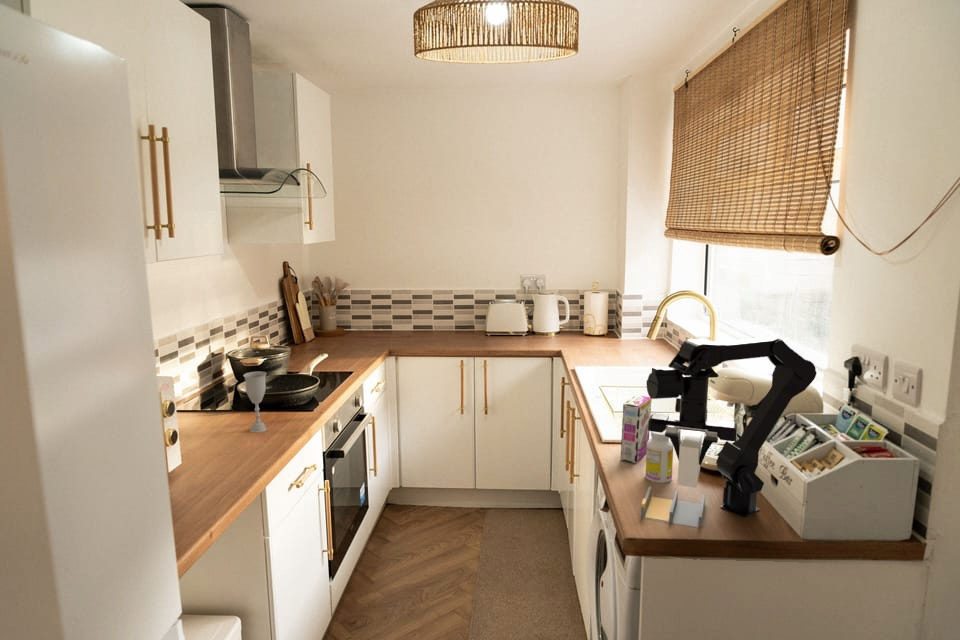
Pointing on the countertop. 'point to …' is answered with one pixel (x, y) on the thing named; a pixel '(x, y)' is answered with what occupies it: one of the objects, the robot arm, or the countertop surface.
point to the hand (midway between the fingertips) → (690, 462)
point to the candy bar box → (635, 428)
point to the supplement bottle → (659, 458)
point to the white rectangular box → (689, 458)
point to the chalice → (256, 395)
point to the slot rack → (672, 510)
